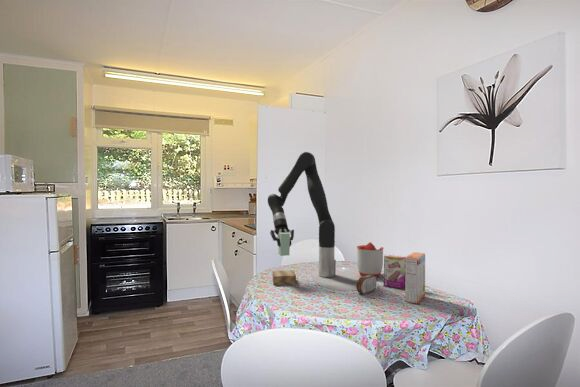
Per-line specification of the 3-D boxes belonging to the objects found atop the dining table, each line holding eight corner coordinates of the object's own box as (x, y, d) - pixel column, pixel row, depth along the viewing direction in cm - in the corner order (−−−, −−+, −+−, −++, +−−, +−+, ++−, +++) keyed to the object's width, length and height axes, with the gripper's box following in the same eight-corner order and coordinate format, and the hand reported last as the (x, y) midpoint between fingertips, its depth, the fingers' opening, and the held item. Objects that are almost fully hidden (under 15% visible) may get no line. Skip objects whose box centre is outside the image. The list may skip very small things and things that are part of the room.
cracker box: (412, 294, 165) (413, 251, 165) (425, 296, 162) (426, 253, 161) (404, 301, 154) (404, 256, 154) (417, 304, 150) (418, 258, 150)
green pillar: (287, 253, 188) (287, 232, 188) (289, 255, 184) (289, 233, 183) (278, 253, 187) (278, 232, 187) (280, 255, 182) (280, 233, 182)
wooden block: (293, 279, 192) (293, 270, 192) (295, 285, 180) (295, 275, 180) (272, 279, 191) (272, 270, 191) (273, 285, 179) (273, 276, 179)
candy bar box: (383, 286, 178) (383, 255, 178) (384, 284, 182) (385, 254, 182) (405, 289, 173) (405, 257, 173) (406, 286, 178) (406, 255, 177)
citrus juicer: (390, 276, 199) (391, 242, 199) (370, 280, 189) (371, 245, 189) (370, 270, 212) (371, 239, 212) (350, 274, 202) (351, 241, 202)
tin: (372, 288, 174) (372, 272, 174) (377, 289, 172) (378, 273, 172) (355, 294, 164) (356, 277, 164) (361, 296, 161) (361, 278, 161)
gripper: (269, 217, 190) (273, 242, 179) (293, 217, 194) (298, 241, 183) (267, 226, 195) (271, 250, 184) (290, 225, 199) (296, 249, 188)
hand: (284, 245), depth 183 cm, fingers closed on green pillar, 5 cm apart
